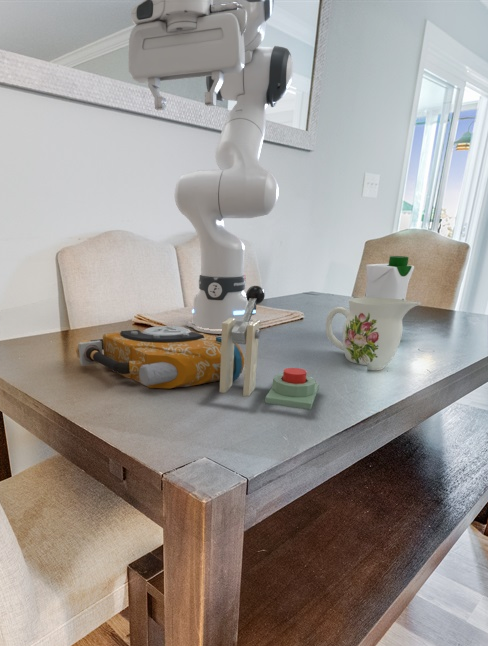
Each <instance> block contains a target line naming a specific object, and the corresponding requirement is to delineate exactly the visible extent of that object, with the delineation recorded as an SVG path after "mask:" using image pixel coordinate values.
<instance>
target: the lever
mask: <svg viewBox="0 0 488 646" xmlns="http://www.w3.org/2000/svg"><path fill="white" fill-rule="evenodd" d="M245 293H246V299H247V301H248V304H247V307H246V309H245V312H244V314H243V317H242V319H241V321H235V324H234V326H233V329H232V331H231V335H232V343H235V344H237V345H245V346H246V335H247V325H248V324H249V321H250V319H251V317H253V315H252V313H253V311H254V308H255V305H256V306H257V305H260V304H261V303H263V301H264V299H265V296H266V293H265V291H264V289H263V287H261V286H259V285H252V286H250V287H248V289H246V292H245Z"/></svg>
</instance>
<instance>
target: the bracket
mask: <svg viewBox="0 0 488 646" xmlns="http://www.w3.org/2000/svg"><path fill="white" fill-rule="evenodd" d="M235 320H236V319H235V318H229V319H228V320H226V321H225V322H223V323H222V331H221V334H220V335H221V337H222V339H221V366H220V381H219V393H223V394H226V393H227V392H228V390H230V389H231V387H232V386H233V381H234V380H233V362H234V343H232V335H231V331H232V329H233V326H234V324H235ZM260 321H261V320H260V319H256V320H253V321H252V322H251V323H249V324H248V325H247V335H246V344H245V353H244V354H245V355H244V369H243V370H244V373H243V389H242V396H243V397H250V395H252V393H253V392H254V391H255V389H256V379H257V367H258V352H259V339H260V336H261V330H260Z"/></svg>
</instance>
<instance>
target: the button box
mask: <svg viewBox="0 0 488 646" xmlns="http://www.w3.org/2000/svg"><path fill="white" fill-rule="evenodd" d="M319 385H320V383H318V382H316V379H314V378H313V377H312V376H309V375H306V383H303V384H292V383H287V382H284V381H283V373H279V374H275V375H274V376H273V378H272V386H271V388H270V389H269V391H268V393H267V394H266V396H265V397H264V398H265V399H264V403H265V404H270V405H277V406H283V407H290V408H298V409H305V410H312V407H313V405H314V402H315V399H316V396H317V394H318V391H319V388H320V387H319Z"/></svg>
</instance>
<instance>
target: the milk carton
mask: <svg viewBox="0 0 488 646" xmlns="http://www.w3.org/2000/svg"><path fill="white" fill-rule="evenodd" d="M408 263H409V256H406V255H405V256H404V255H403V256H402V255H391V256H389V260H388V263H373V264H372V263H371V264H365V266H366V267H365V268H366V269H365V270H366V287H365V296H364V297H379V298H391V299H401V300H406V297H407V293H408V286H409V283H410V280H411V278H412V275H413V273H414V270H415V265H410V264H409V265H408Z"/></svg>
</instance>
